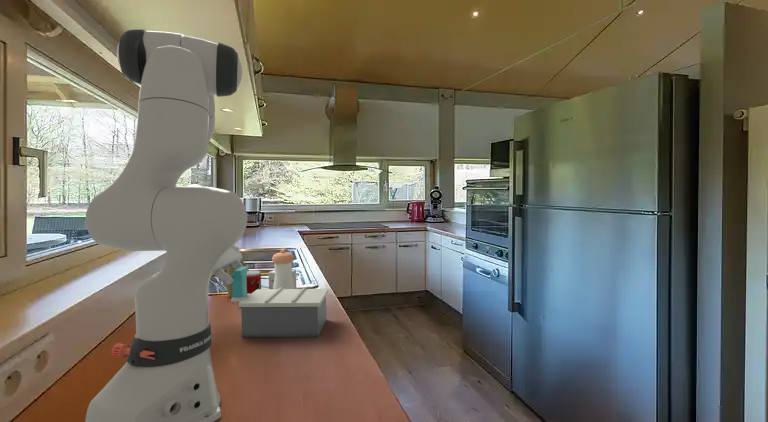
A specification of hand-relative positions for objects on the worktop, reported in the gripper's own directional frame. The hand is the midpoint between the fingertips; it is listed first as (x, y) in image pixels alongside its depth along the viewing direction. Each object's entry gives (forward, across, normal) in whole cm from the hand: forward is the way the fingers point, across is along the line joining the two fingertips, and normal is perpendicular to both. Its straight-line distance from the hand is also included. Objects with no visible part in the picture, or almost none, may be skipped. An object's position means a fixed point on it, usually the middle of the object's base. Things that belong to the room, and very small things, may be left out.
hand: (239, 278), depth 110 cm
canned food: (+6, +24, +14) cm, 29 cm away
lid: (+12, 0, -4) cm, 13 cm away
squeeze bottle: (0, +36, +20) cm, 41 cm away
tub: (+19, 0, +1) cm, 19 cm away
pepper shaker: (+15, +19, +5) cm, 25 cm away
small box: (+13, +29, +7) cm, 32 cm away
